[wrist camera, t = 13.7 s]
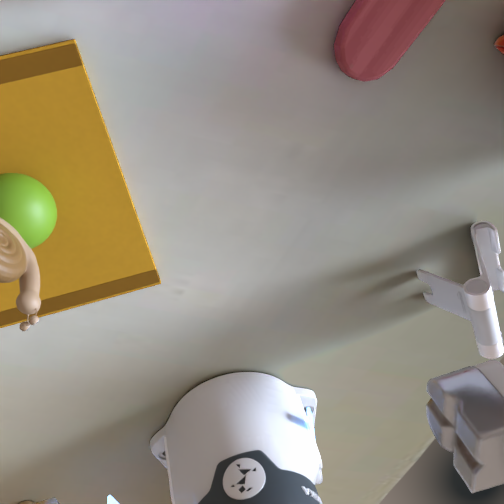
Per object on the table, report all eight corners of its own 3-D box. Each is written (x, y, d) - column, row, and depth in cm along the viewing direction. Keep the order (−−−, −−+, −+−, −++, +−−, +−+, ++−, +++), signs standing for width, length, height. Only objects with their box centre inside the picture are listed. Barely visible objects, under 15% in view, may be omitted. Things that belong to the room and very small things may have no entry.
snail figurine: (32, 250, 37) (-5, 354, 27) (-37, 190, 34) (-108, 283, 24) (86, 211, 37) (69, 303, 27) (21, 146, 33) (-27, 223, 23)
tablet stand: (495, 279, 51) (554, 329, 44) (429, 313, 51) (476, 368, 44) (483, 217, 46) (547, 261, 39) (410, 254, 46) (460, 305, 39)
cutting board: (160, 281, 42) (161, 284, 41) (0, 325, 40) (-1, 328, 40) (74, 38, 31) (74, 39, 31) (-147, 89, 30) (-151, 90, 29)
